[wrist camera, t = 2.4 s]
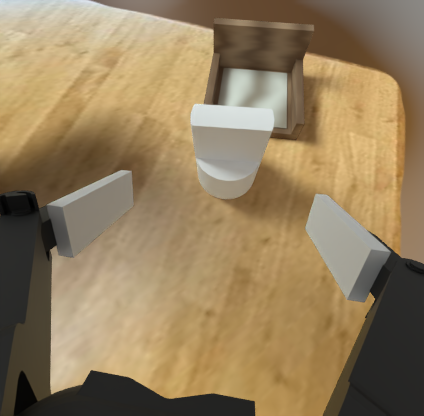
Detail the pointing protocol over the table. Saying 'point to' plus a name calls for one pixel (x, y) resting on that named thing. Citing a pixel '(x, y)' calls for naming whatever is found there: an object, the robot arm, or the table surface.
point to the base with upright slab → (229, 146)
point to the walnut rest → (261, 70)
